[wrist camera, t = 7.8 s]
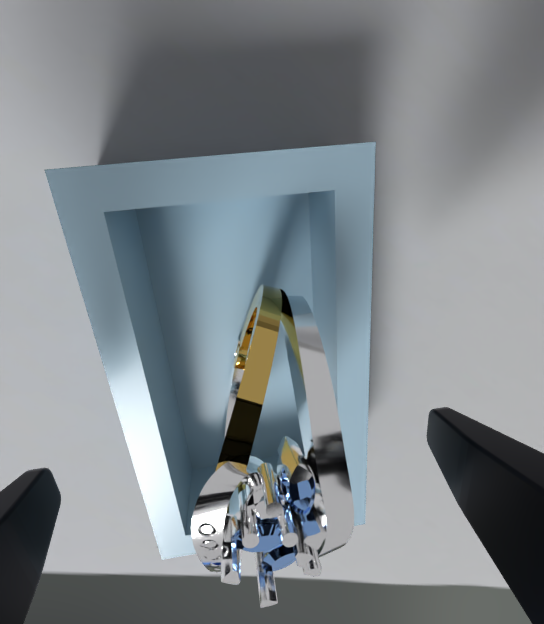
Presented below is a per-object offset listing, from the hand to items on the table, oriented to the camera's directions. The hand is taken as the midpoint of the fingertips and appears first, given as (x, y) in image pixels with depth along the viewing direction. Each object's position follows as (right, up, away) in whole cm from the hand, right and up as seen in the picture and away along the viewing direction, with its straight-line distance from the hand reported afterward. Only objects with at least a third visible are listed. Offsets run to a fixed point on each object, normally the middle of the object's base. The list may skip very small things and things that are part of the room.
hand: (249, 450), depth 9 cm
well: (-1, +2, +5) cm, 6 cm away
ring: (0, +2, +5) cm, 6 cm away
